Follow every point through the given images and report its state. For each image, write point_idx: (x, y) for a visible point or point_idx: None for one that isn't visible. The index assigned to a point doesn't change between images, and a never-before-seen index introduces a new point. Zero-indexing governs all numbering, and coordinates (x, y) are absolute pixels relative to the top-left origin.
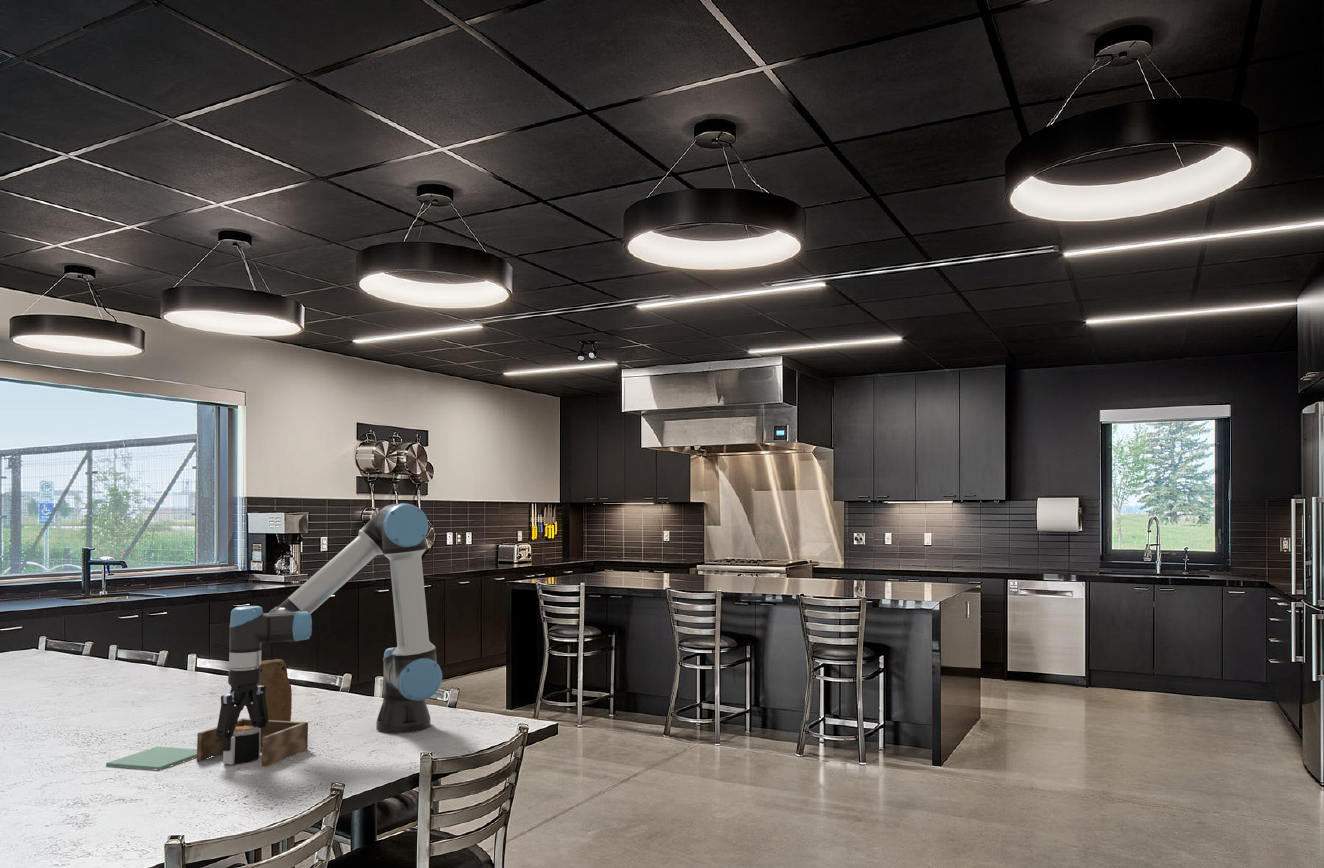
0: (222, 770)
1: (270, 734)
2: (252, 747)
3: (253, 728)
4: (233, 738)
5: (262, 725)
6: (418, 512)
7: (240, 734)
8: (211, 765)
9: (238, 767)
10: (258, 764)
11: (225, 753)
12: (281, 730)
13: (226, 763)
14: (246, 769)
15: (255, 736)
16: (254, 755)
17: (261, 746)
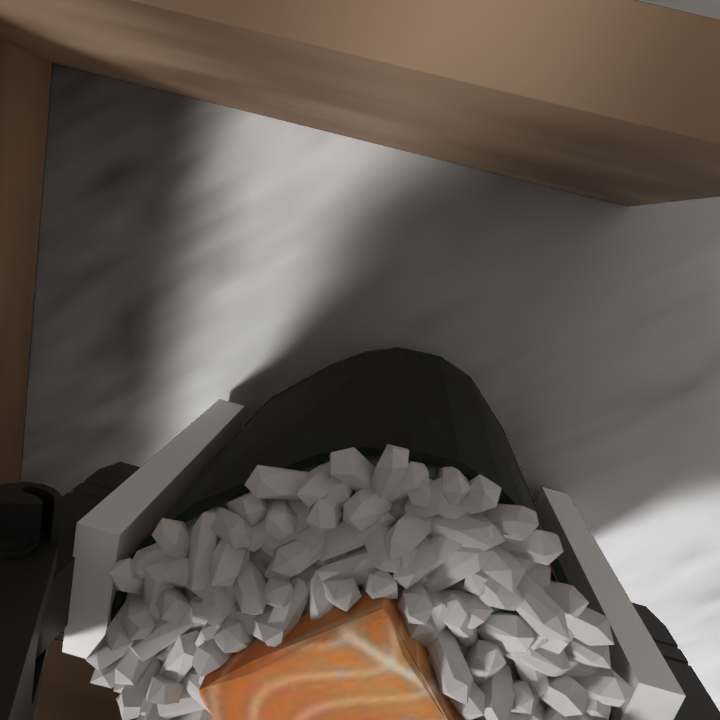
0: (713, 507)
1: (639, 107)
2: (471, 412)
3: (250, 588)
4: (667, 680)
5: (32, 529)
6: None
7: (601, 649)
8: None
9: (630, 413)
10: (544, 272)
11: None
12: (287, 28)
13: None
14: (716, 311)
15: (451, 441)
16: (443, 369)
17: (11, 480)
